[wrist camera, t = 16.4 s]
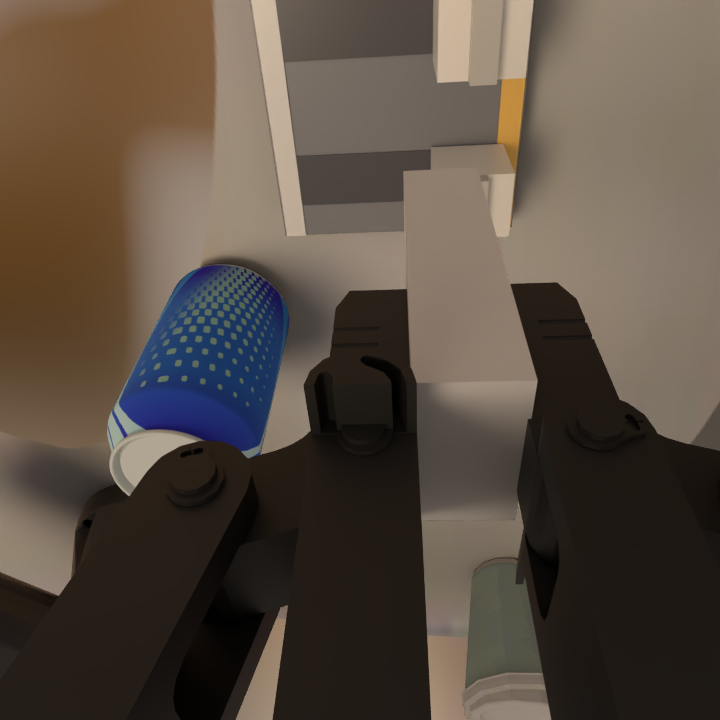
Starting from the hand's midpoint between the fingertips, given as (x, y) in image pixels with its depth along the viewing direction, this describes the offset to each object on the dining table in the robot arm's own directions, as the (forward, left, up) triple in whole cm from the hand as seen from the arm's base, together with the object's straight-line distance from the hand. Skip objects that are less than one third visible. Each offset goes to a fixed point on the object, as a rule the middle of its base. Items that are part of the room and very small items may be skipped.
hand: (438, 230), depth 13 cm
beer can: (-13, -18, -25) cm, 33 cm away
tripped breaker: (+3, 0, -22) cm, 22 cm away
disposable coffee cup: (+9, -53, -25) cm, 59 cm away
